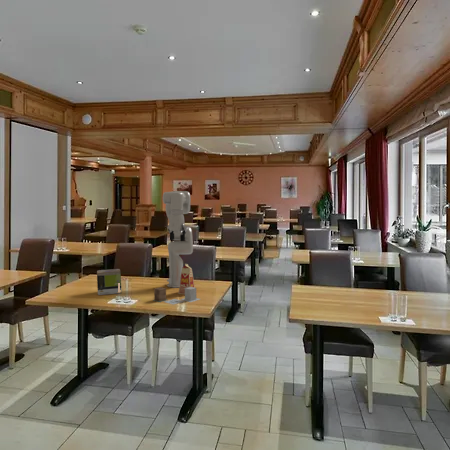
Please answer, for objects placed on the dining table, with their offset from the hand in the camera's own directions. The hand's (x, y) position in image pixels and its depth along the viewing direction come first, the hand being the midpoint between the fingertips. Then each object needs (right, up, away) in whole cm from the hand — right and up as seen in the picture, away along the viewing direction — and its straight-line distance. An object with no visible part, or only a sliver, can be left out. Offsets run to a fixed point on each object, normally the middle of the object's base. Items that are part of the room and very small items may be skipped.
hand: (177, 240), depth 246 cm
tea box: (-47, -35, +17) cm, 61 cm away
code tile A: (-1, -37, -7) cm, 37 cm away
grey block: (+8, -36, -2) cm, 37 cm away
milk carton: (+4, -35, +15) cm, 39 cm away
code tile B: (+8, -36, -2) cm, 37 cm away
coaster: (-10, -37, -3) cm, 38 cm away
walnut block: (-10, -36, -3) cm, 38 cm away
